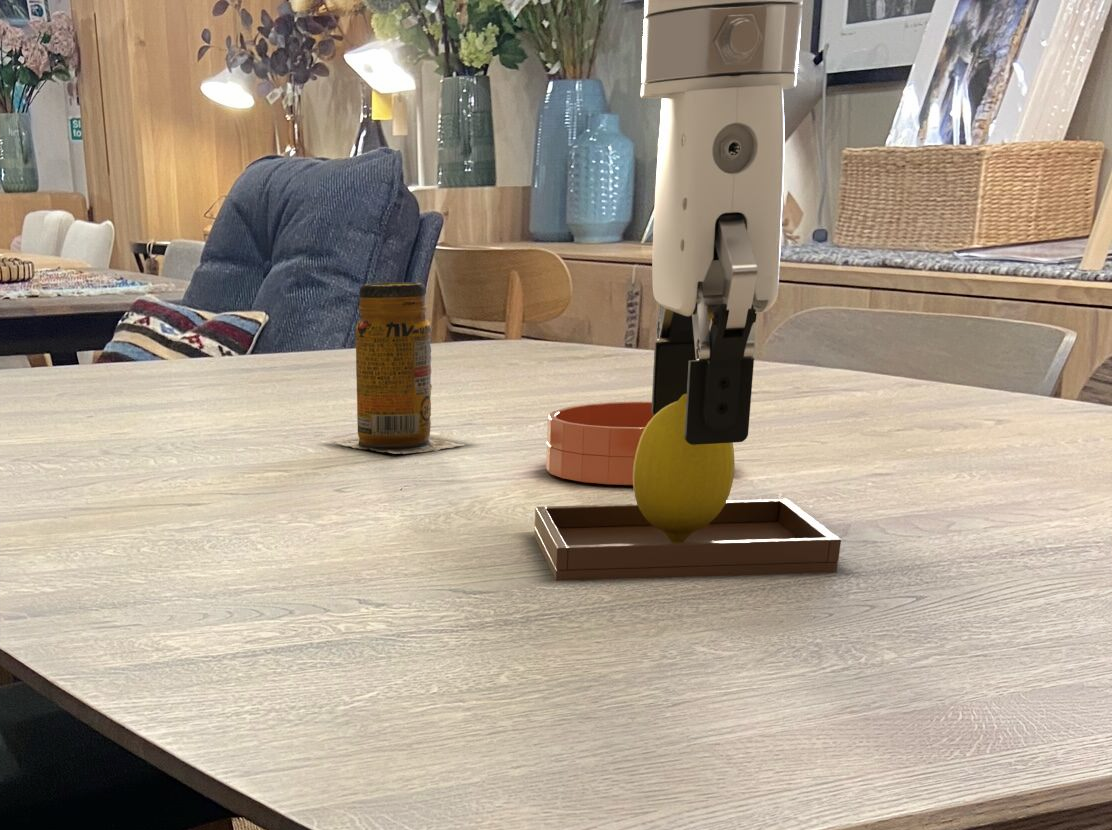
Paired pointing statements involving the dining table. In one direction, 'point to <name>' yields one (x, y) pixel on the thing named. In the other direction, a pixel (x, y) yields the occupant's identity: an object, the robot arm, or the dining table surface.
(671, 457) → the lemon
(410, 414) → the condiment
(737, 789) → the dining table surface
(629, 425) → the bowl
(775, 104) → the robot arm
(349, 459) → the dining table surface
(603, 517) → the tray
